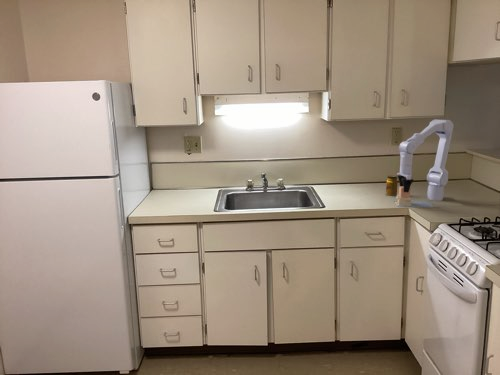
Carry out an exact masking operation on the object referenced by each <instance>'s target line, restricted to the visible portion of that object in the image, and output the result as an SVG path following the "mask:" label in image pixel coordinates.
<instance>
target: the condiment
mask: <svg viewBox="0 0 500 375" xmlns="http://www.w3.org/2000/svg"><path fill="white" fill-rule="evenodd" d="M397 176H398V175H387V179H386V183H385V184H386V185H385V187H386V188H385V196H388V197H397V195H398V183H399V182H398V181H399V180H398V177H397Z"/></svg>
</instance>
